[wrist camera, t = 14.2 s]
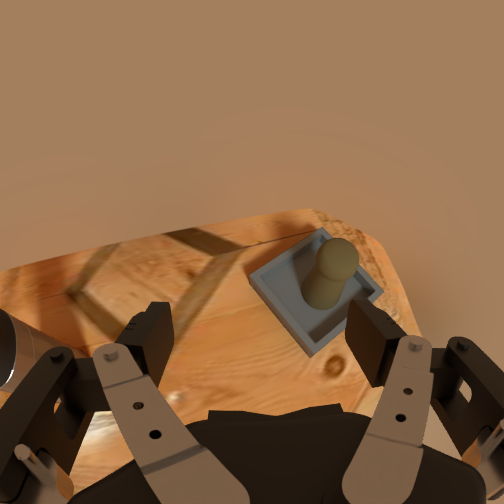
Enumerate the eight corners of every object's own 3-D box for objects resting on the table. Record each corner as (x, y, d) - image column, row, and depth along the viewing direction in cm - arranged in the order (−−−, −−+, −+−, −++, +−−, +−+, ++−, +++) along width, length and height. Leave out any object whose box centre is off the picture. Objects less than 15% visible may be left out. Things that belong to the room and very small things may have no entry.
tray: (310, 358, 35) (314, 354, 33) (249, 283, 41) (249, 274, 38) (376, 299, 39) (384, 291, 37) (318, 237, 45) (321, 226, 43)
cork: (318, 264, 41) (335, 221, 32) (348, 290, 39) (375, 252, 30) (292, 291, 39) (304, 251, 30) (323, 318, 37) (347, 287, 28)
